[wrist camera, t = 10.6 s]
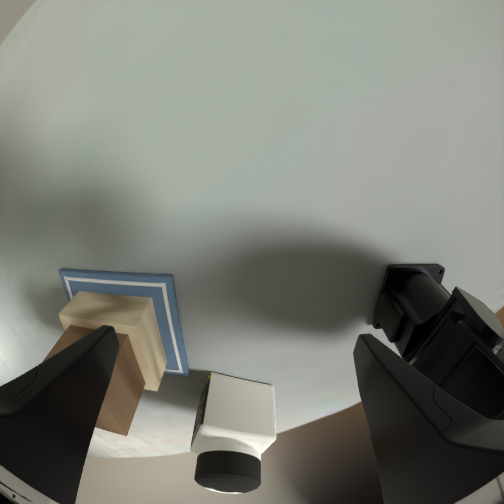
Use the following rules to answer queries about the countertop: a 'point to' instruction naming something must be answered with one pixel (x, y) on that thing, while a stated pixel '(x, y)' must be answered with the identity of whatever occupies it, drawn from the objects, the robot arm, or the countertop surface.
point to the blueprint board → (142, 286)
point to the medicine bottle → (232, 433)
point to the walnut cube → (113, 382)
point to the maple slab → (122, 326)
